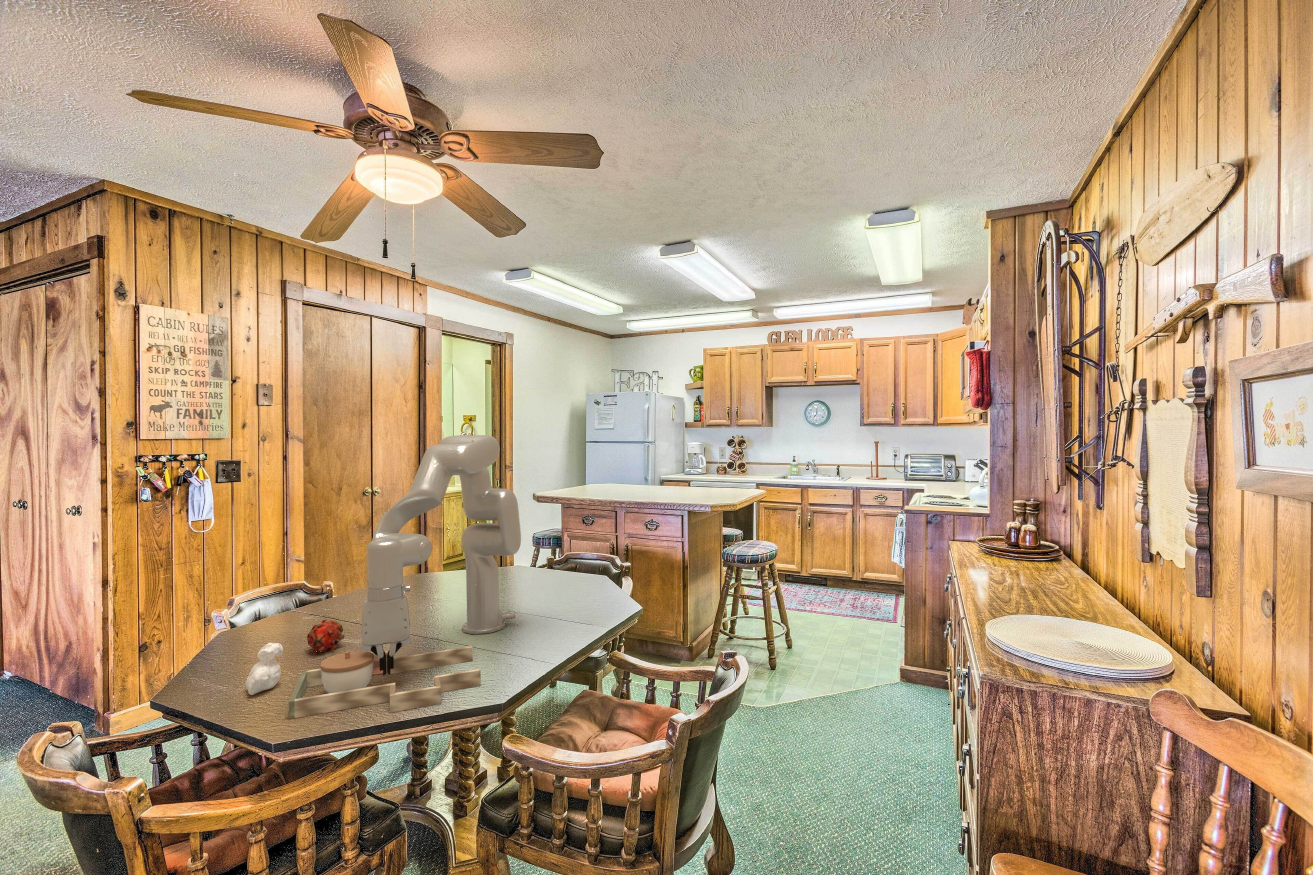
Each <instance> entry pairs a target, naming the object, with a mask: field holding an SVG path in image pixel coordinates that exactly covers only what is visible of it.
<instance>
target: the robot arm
mask: <svg viewBox="0 0 1313 875" xmlns="http://www.w3.org/2000/svg"><path fill="white" fill-rule="evenodd" d="M499 455H500V444H499V442H498V440H497V439H496V438H495V437H494V436H493V435H489V434H478V435H477V434H474V435H473V434H472V435H470V434H469V435H468V434H466V435H465V434H464V435H463V434H462V435H458V434H457V435H451V436H446V437H444V438H442V439H441V440H440V441H439V443H438V444H434V445H431V446H429V447H428V448H427V449H426V450H425V452H424V454H423V456H422V459H421V462H420V464H419V466H418V470H417V472H416V474H415V477H414V479H413V482H412V484H411V485H410V486H411V487H410V489H409V491H408V492H407V494H405V495H404V496H402V497H401V498H400V499H399V500H398V501H396V502H395V503H394V504H393V505H392V506H391V507H390V508H389V509H387V511H386V512H385V513H384V514H383V515H382V517H381V518H380V519H379V521H378V523H377V526H376V529H375V531H374V533H373V537H372V539H371V541H370V542H368V544H367V547H366V567H367V568H366V572H367V573H366V574H367V575H366V576H367V577H366V578H367V599H365V600H363V601H364V602H363V605H362V606H363V607H362V615H361V616H362V617H361V645H360V651H367V652H371V653H374V654H376V655H377V656H378V657H379V662H380V671H382V670H383V674H382V676H386V675H392V674H391V669H394V658H395V657H394V656H395V655H396V653H397V652H398V651H399V650H400V649H402V647H405V646H408V645H410V644H412V638H411V620H410V608H409V607H410V606H409V601H408V596H407V595H405V594H406V593H408V592H410V591H411V588H410V587H411V586H410V585H405V584H404V568H405V567H410V566H411V567H412V566H413V567H414V566H418V565H421V564H422V565H423V563H425V562H426V561H428V559H429V558H430V556H431V555H432V552H433V544H432V541H431V539H430V538H429V537H428V536H426V535H424V534H420V533H406V532H405V533H404V532H403V533H400V531H401V530H402V528H403V527H404V526H405V525H406V524H408V522H410V521H412V519H414V518H417V517H418V516H421V515H423V514H425V513H427V512H430V511H431V510H434V509H436V508H438V507H439V506H440V505H442V504H443V501H444V498H445V495H446V493H447V490H448V487H449V483H450V481H451V479H452V477H454V476H459V480H460V481H459V482H460V487H461V488H460V489H461V495H462V497H461V498H462V505H463V511H464V514H465V516H466V518H468V519H469V520H473V521H496V522H497V523H494V522H490V523H489V522H487V523H485V522H484V523H483V522H480V523H479V522H477V523H472V524H470V525H469V526H467V527H466V528H465V529H464V530H463V531H462V535H461V544H462V549H463V552H464V559H465V578H466V579H465V580H466V581H465V582H466V585H465V586H466V588H465V589H466V622H464V623H463V624H462V625H461V631H462V632H463V633H465V634H469V635H470V634H471V635H482V634H484V635H485V634H489V633H490V634H491V633H494V632H495V633H496V632H497V631H500V630H503V629H504V628H505V626H506V620H514V619H516V612H514V611H513V612H510V611H505V612H503V611H501V609H500V571H499V566H498V563H497V561H496V558H494V556H502V557H504V556H505V557H506V556H508V557H509V556H513V555H516V554H517V553H518V552H519V550H520V547H521V543H522V533H521V522H520V511H519V504H518V503H519V502H518V499H517V497H516V495H515V493H514V492H513V490H510V489H508V488H493V487H492V483H491V482H492V481H491V474H490V471H489V468H488V467H490V466H492V465H493V464H494V463H495V462H496V461H497V459H498V458H499ZM388 644H389V649H388V650H387V651H388V654H387V667H386V654H385V652H384V651H385V649H384V645H388ZM386 672H387V673H386Z"/></svg>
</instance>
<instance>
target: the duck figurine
mask: <svg viewBox="0 0 1313 875" xmlns="http://www.w3.org/2000/svg"><path fill="white" fill-rule="evenodd" d="M283 654H284V647H283V645H282V644H281V643H279V642H270V641H269V642H268V643H267V644H265V645H264V646H263V647H261V648H260V649H259V652H257V655H256V656H257V659H259V661H257V662H256V664H254V665H253V666H252V668H251V669H250V672H249V674H248V676H247V678H246V681H245V687H246V689H247V693H248V695H250V696H254V695H256V694H258V693H261V692H264V691H267V690H269V689H272V688H274V687H275V686H276V684H278V682H279V681H280V678H281V675H282V670H281V665H280V664H279V663H278V662H277V660H276V658H277V657H281V656H282V655H283Z"/></svg>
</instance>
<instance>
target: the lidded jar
mask: <svg viewBox="0 0 1313 875" xmlns="http://www.w3.org/2000/svg"><path fill="white" fill-rule="evenodd" d="M372 653H373V652H372V651H361V650H353V651H350V650H347V651H346V650H345V651H344V652H342V653H337V654H334V655H332V656H329V657H326V658H325V659H323V660H322V661H321V662H320V664H319V666H320V668H319V669H321V679H322V683H323V685H322V686H323V688H324V690H325V691H326V693H327V694H330V693H336V692H342V691H348V690H354V689H360V688H366V687H368V685H369V684H370V682H371V680H372V677H373V675H372V673H373V660H374V655H373V654H372Z"/></svg>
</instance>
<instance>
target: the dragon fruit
mask: <svg viewBox="0 0 1313 875" xmlns="http://www.w3.org/2000/svg"><path fill="white" fill-rule="evenodd" d="M343 632H344V627H343V625H342V623H340V622H337V620H336V619H330V620H329V621H327V619H323V620H321V623H320V624H319V623H318V624H314V625H313V626H312V627H311V629H310V631H309V632H308V634H307V635H306V641H307V645H308V646H309V647H310V648H311V649H312V650H314V654H315V653H316V655H317V654H319V653H318V652H320V651H323V652H325V651H326V650H328V649H330V648H331V649H333V650H334V649H336V648H337V647H338V645H339V643H340V642H341V641H342V640H344V639H345V637H346V636H345V635H344V634H342V633H343ZM331 649H330V650H331ZM316 651H317V652H316Z"/></svg>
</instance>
